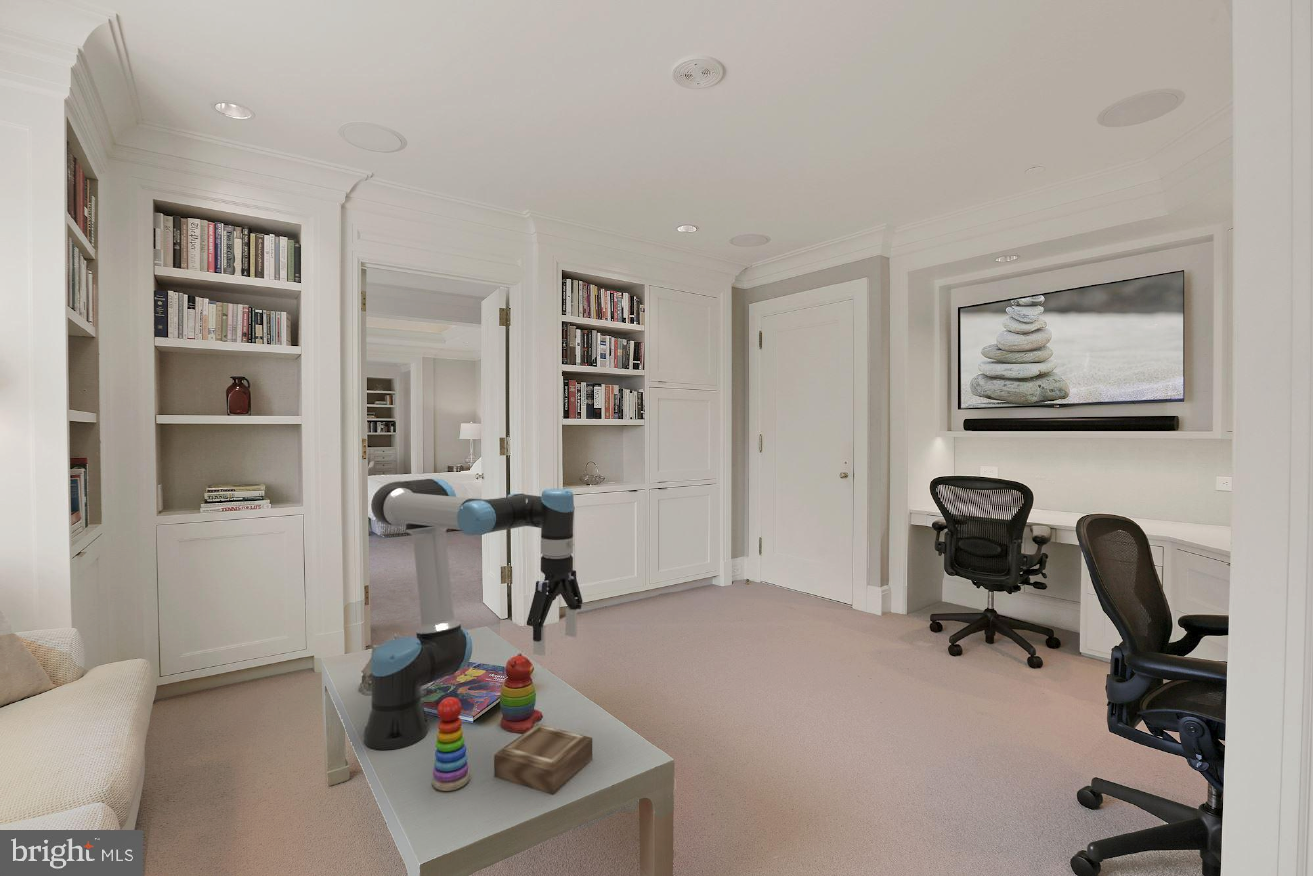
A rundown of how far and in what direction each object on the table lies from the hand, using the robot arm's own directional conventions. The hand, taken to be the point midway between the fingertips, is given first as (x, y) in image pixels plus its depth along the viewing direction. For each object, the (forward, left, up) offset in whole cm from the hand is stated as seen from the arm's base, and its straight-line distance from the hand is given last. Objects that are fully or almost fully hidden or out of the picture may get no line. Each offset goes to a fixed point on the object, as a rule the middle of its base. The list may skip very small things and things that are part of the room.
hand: (555, 644), depth 147 cm
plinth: (-1, -4, -27) cm, 28 cm away
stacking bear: (-20, +11, -28) cm, 36 cm away
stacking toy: (-16, -18, -28) cm, 36 cm away
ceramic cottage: (-68, +12, -28) cm, 75 cm away
